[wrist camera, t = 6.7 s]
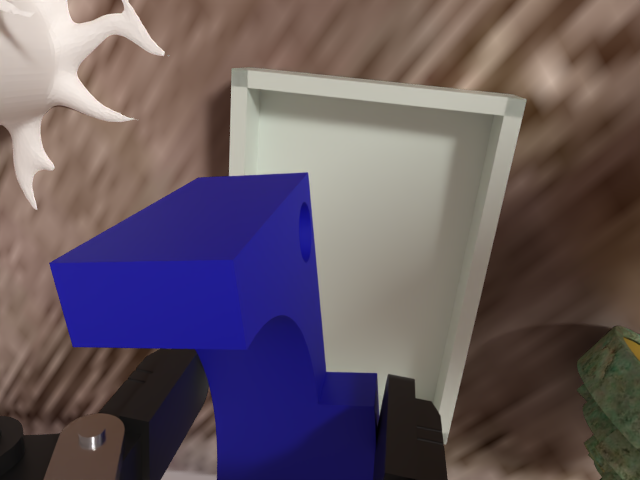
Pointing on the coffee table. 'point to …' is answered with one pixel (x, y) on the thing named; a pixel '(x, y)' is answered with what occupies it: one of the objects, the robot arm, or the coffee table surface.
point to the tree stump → (51, 72)
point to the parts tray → (387, 210)
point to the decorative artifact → (613, 403)
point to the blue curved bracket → (232, 321)
